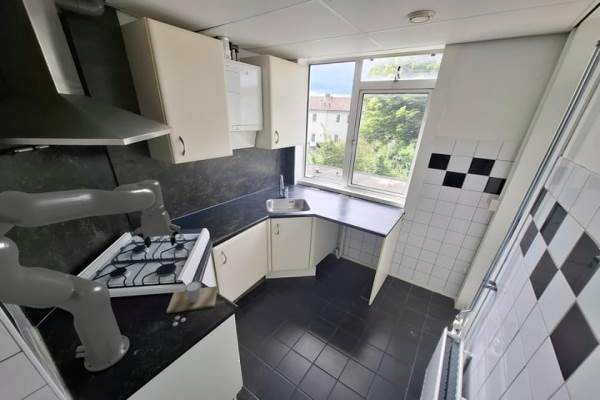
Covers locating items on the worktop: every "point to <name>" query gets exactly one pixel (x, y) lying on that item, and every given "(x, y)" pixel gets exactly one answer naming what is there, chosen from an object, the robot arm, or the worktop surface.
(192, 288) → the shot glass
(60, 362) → the worktop surface
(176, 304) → the birch board
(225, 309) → the worktop surface
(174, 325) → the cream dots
